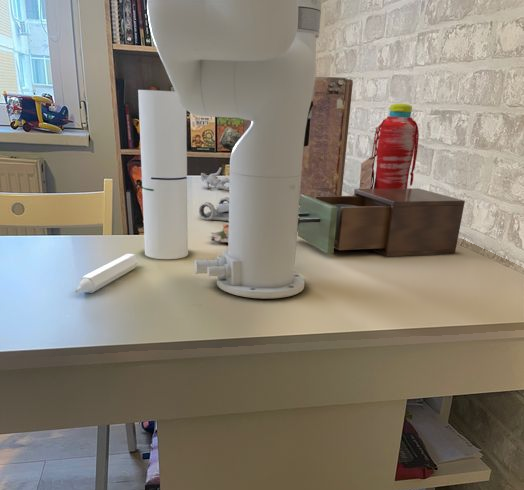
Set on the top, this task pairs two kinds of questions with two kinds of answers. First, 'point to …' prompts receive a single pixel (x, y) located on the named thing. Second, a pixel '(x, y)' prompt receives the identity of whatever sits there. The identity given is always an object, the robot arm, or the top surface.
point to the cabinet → (418, 221)
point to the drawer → (343, 222)
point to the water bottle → (392, 151)
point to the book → (325, 138)
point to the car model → (217, 214)
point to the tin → (339, 217)
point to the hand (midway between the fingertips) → (288, 143)
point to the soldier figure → (215, 180)
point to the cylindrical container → (163, 173)
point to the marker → (107, 273)
